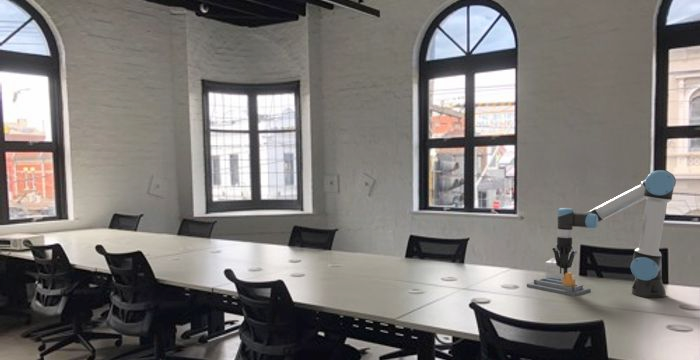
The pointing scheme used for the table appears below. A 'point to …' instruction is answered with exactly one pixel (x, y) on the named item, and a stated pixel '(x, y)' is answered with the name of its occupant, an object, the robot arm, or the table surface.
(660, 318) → the table surface
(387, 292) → the table surface
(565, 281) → the toggle
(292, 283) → the table surface
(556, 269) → the ink box
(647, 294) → the robot arm
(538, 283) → the panel
